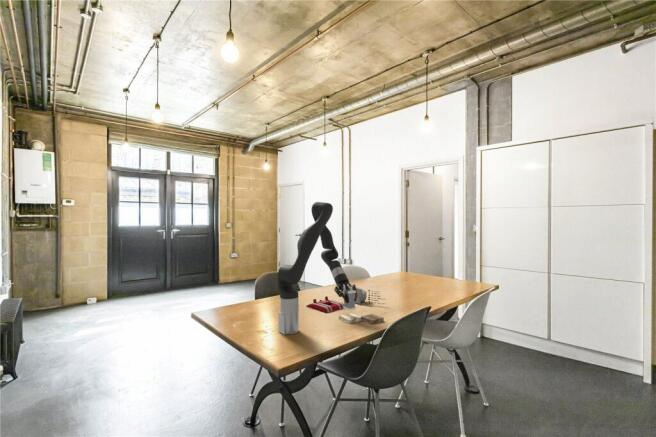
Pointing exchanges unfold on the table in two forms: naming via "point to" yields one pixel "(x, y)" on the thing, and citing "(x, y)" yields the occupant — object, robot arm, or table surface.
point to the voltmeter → (363, 296)
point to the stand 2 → (372, 318)
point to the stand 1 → (350, 318)
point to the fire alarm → (326, 305)
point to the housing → (350, 299)
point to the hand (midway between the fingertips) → (351, 301)
